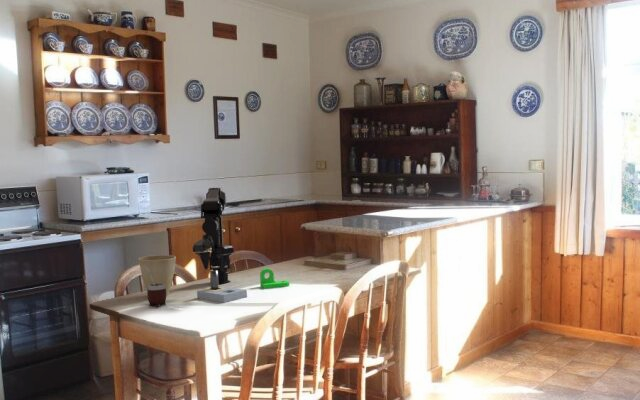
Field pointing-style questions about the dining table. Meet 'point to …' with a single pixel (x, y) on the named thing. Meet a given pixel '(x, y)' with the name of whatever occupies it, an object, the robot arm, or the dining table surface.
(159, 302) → the mate gourd
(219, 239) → the robot arm
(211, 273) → the pin
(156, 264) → the plant pot
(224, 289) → the socket board
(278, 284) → the mechanical part
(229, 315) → the dining table surface
